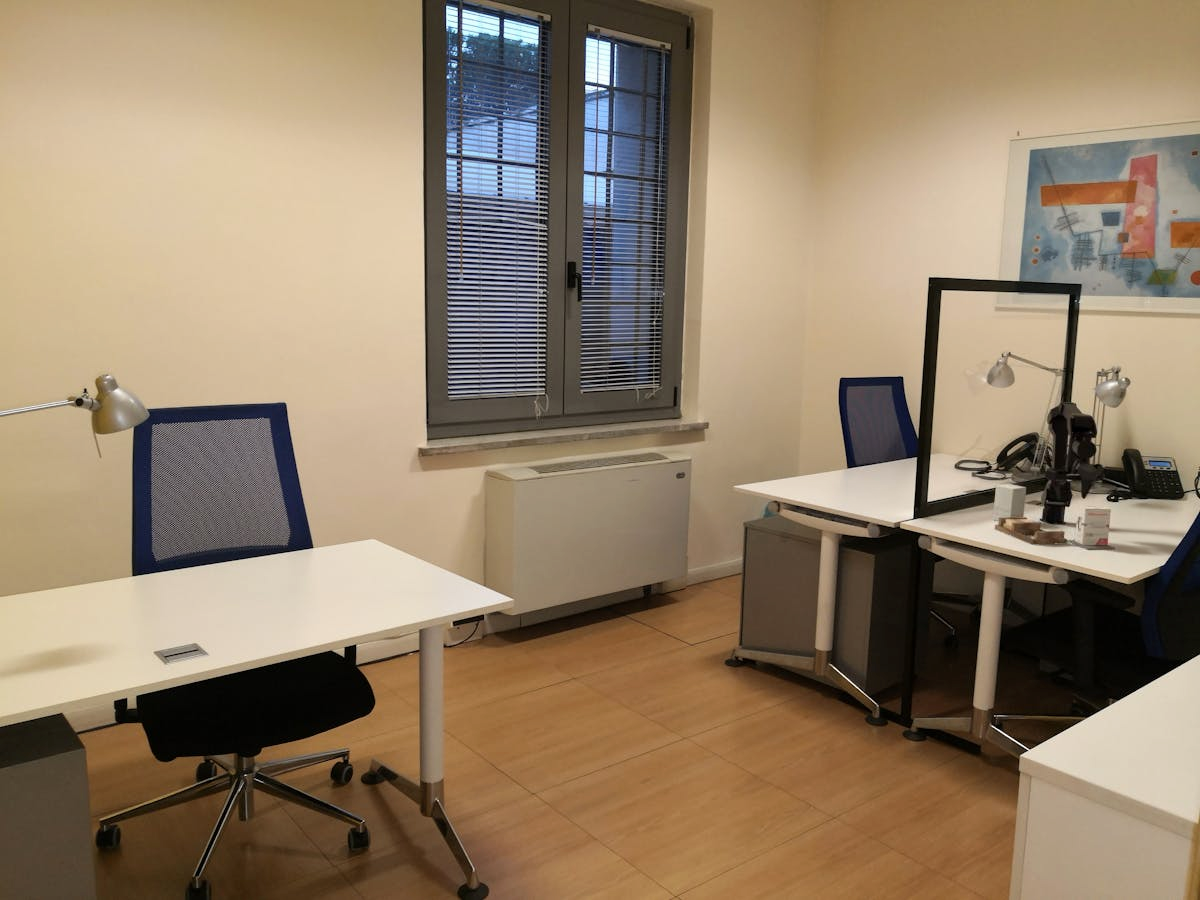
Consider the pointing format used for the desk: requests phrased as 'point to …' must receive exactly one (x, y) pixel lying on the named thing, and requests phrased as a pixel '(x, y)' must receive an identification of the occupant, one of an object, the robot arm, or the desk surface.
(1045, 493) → the robot arm
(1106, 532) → the ink box
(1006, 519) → the walnut rack
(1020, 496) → the supplement box
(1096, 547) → the dark grey mat
